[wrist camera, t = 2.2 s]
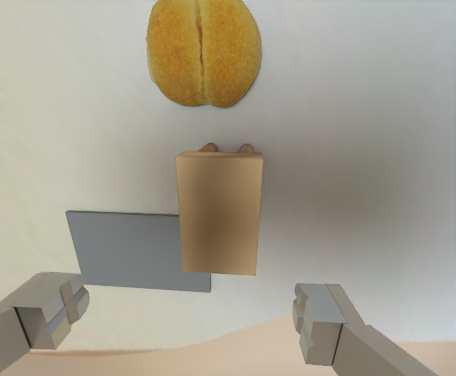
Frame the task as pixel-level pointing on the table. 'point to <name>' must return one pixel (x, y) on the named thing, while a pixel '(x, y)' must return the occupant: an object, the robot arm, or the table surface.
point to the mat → (132, 251)
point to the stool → (219, 209)
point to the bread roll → (203, 50)
